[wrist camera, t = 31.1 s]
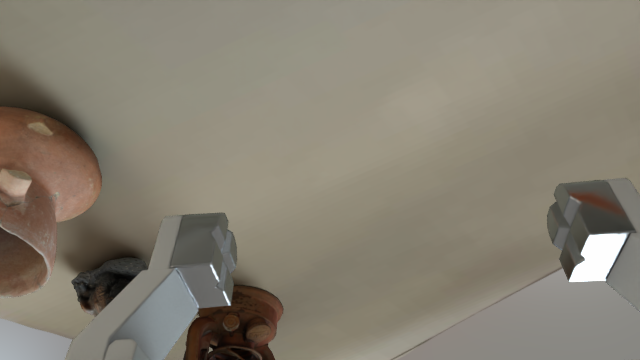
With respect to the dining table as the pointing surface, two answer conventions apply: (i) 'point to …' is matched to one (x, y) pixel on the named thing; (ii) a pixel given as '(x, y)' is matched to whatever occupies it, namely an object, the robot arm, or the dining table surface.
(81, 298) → the bison figurine
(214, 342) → the lantern
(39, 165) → the ceramic jug
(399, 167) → the dining table surface
